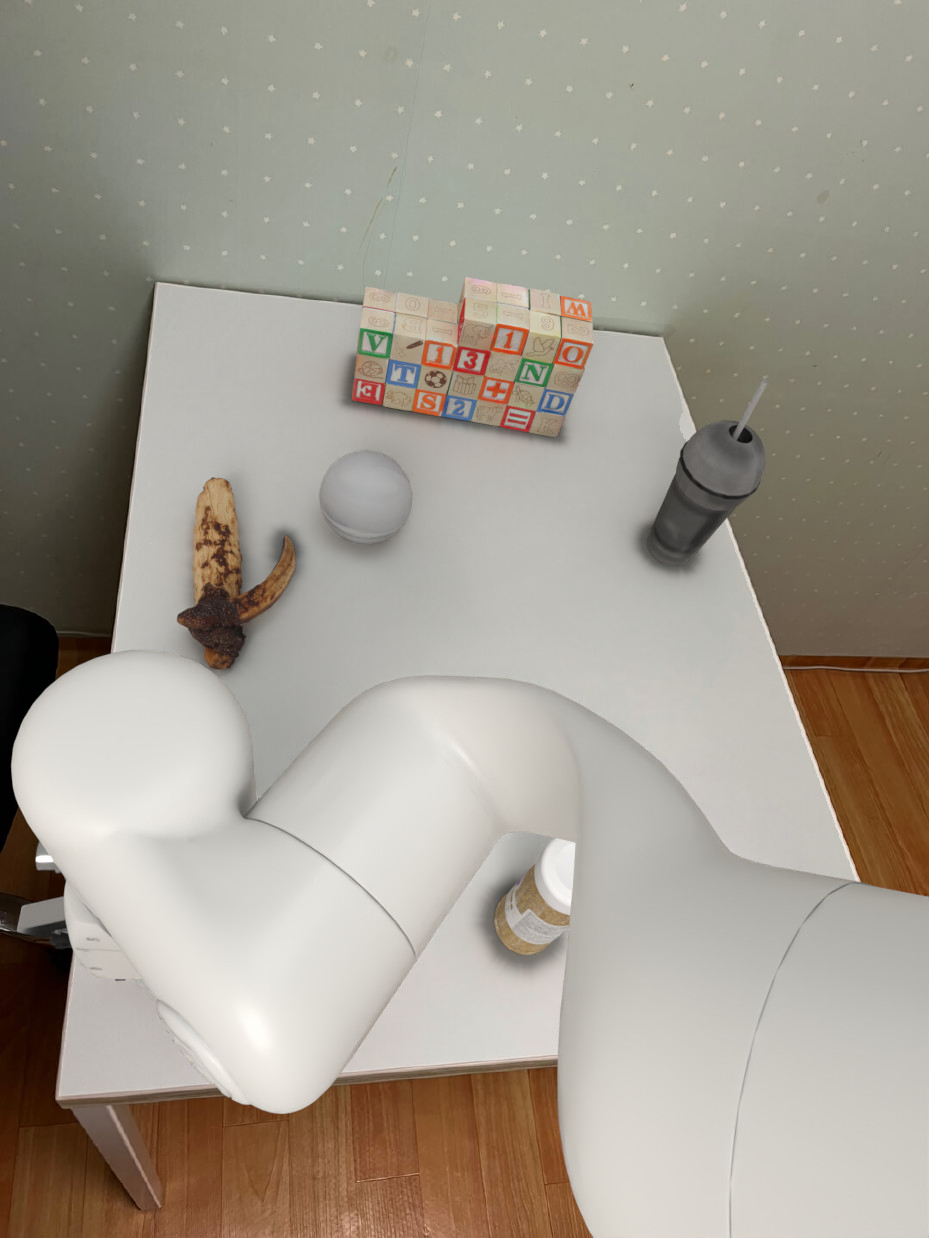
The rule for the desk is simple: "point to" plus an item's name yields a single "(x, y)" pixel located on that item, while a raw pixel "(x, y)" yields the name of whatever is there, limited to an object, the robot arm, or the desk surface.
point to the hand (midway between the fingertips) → (203, 950)
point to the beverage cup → (707, 486)
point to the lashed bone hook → (226, 578)
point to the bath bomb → (365, 497)
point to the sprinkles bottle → (538, 901)
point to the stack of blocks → (475, 354)
